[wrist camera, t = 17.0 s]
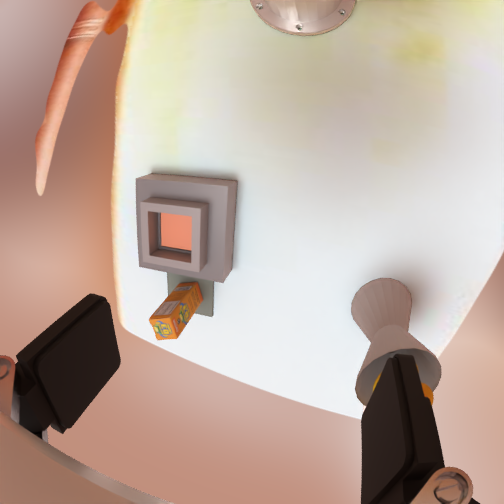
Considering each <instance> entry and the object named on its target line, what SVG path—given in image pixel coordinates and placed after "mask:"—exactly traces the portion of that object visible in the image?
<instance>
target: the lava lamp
mask: <svg viewBox="0 0 504 504" xmlns="http://www.w3.org/2000/svg"><path fill="white" fill-rule="evenodd" d="M411 305H412V300H411V295H410V292H409V291H408V289H407V287H406V286H405V285H403V284H402V283H401V282H399V281H397V280H394V279H391V278H380V279H376V280H373V281H370V282H369V283H367V284H365V285H364V286H362V287H361V288H360V289H359V291H358V292H357V293H356V294H355V296H354V299H353V301H352V306H351V313H352V316H353V319H354V321H355V322H356V323H357V325H358V326H359V327H360V329H361V330H362V331H363V333H364V334H365V335H366V337H367V338H368V339H369V341H370V342H371V345H370V347H369V350H368V352H367V355H366V357H365V360H364V362H363V364H362V367H361V369H360V371H359V374H358V376H357V381H356V387H355V391H356V394H357V398H358V399H359V400H360V402H361V403H362V404H363V405H364V406H367V404H368V402H369V400H370V397H371V395H372V393H373V391H374V389H375V387H376V384H377V382H378V380H379V378H380V375H381V373H382V371H383V368H384V366H385V364H386V361H387V359H388V358H389V357H390V358H393V356H394V355H395V354H407V355H413V356H414V359H415V362H416V366H417V369H418V373H419V377H420V380H421V384H422V388H423V392H424V396H425V397H428V398H429V399H430V401H431V405H432V404H433V391H434V390H435V388H436V387H437V385H438V383H439V381H440V378H441V365H440V363H439V361H438V360H437V358H436V356H435V355H434V354H433V353H432V352H431V351H429V350H428V349H427V348H426V347H425V346H424V345H423V344H421V343H420V342H419V341H418V340H417V339H415V338H414V337H413V336H412V335H411V334H410V333H408V328H409V320H410V313H411Z"/></svg>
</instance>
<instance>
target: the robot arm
mask: <svg viewBox="0 0 504 504" xmlns="http://www.w3.org/2000/svg"><path fill="white" fill-rule="evenodd" d="M250 2H251V5H252V7H253V8H254V10H255V12H256V13H257V15H258V16H259V17H260V18H261V19H262V20H263V21H264V22H265V23H266V24H268V25H269V26H271V27H272V28H274V29H277V30H279V31H281V32H284V33H288V34H292V35H300V36H308V35H317V34H323V33H325V32H328V31H331V30H333V29H335V28H336V27H338V26H340V25H341V24H342V23H343V22H344V21H346V20H347V18H348V17H349V16H350V14H351V12H352V10H353V8H354V4H355V0H250ZM261 7H262V9H259V8H261ZM340 13H343V14H344V15H340ZM298 28H301V29H302V30H301V31H298ZM16 357H17V359H18V362H17V363H16V364H15V362H14V360H13V359H12V358H10V357H8V356H3V355H0V504H174V503H171V502H168V501H165V500H162V499H160V498H157V497H154V496H151V495H149V494H146V493H144V492H141V491H139V490H137V489H134V488H132V487H129V486H127V485H125V484H123V483H121V482H118V481H116V480H114V479H112V478H110V477H108V476H106V475H104V474H102V473H99V472H98V471H96V470H94V469H92V468H90V467H88V466H86V465H84V464H82V463H80V462H79V461H77V460H75V459H73V458H71V457H70V456H68V455H66V454H64V453H63V452H61V451H59V450H58V449H56V448H54V447H53V446H51V445H50V444H48V435H47V428H48V427H49V425H51V427H52V428H53V429H55V430H57V431H59V432H60V433H62V434H63V433H64V432H65V430H66V429H67V428H71V427H72V426H73V425H74V423H75V422H76V421H77V420H78V418H79V417H80V416H81V415H82V413H83V412H84V411H85V409H86V408H87V407H88V406H89V404H90V403H91V402H92V401H93V399H94V398H95V397H96V396H97V394H98V393H99V392H100V391H101V389H102V388H103V387H104V386H105V384H106V383H107V382H108V381H109V379H110V378H111V377H112V376H113V374H114V373H115V372H116V371H117V369H118V368H119V366H120V362H121V361H120V360H121V359H120V354H119V350H118V345H117V340H116V335H115V330H114V325H113V319H112V314H111V308H110V304H109V303H108V302H107V300H106V298H105V297H103V296H99V295H96V294H89V295H87V296H86V297H85V298H83V299H82V300H81V301H80V302H78V303H77V304H76V305H75V306H73V307H72V308H71V309H70V310H69V311H68V312H66V313H65V314H64V315H62V317H60V318H59V319H58V320H57V321H55V322H54V323H53V324H52V325H50V326H49V327H48V328H47V329H46V330H45V331H43V332H42V333H41V334H40V335H39V336H38V337H36V339H34V340H33V341H32V342H31V343H30V344H28V345H27V346H26V347H25V348H24V349H23V350H22V351H20V352H19V353H18V354H17V355H16ZM361 429H362V485H361V486H362V488H361V504H480V503H478V502H477V501H475V500H474V499H473V498H471V497H472V494H473V485H472V481H471V479H470V478H469V476H468V475H467V474H466V473H465V472H464V471H462V470H461V469H458V468H455V467H445V465H444V460H443V455H442V449H441V444H440V440H439V435H438V430H437V426H436V422H435V417H434V413H433V409H432V405H431V401H430V399H429V398H428V397H425V396H424V392H423V388H422V384H421V380H420V377H419V373H418V369H417V366H416V362H415V359H414V356H413V355H407V354H395V355H394V356H393V358H390V357H389V358H388V359H387V361H386V364H385V366H384V368H383V371H382V373H381V375H380V378H379V380H378V382H377V384H376V387H375V389H374V391H373V393H372V395H371V397H370V400H369V402H368V404H367V406H366V408H365V410H364V412H363V415H362V420H361Z"/></svg>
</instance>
